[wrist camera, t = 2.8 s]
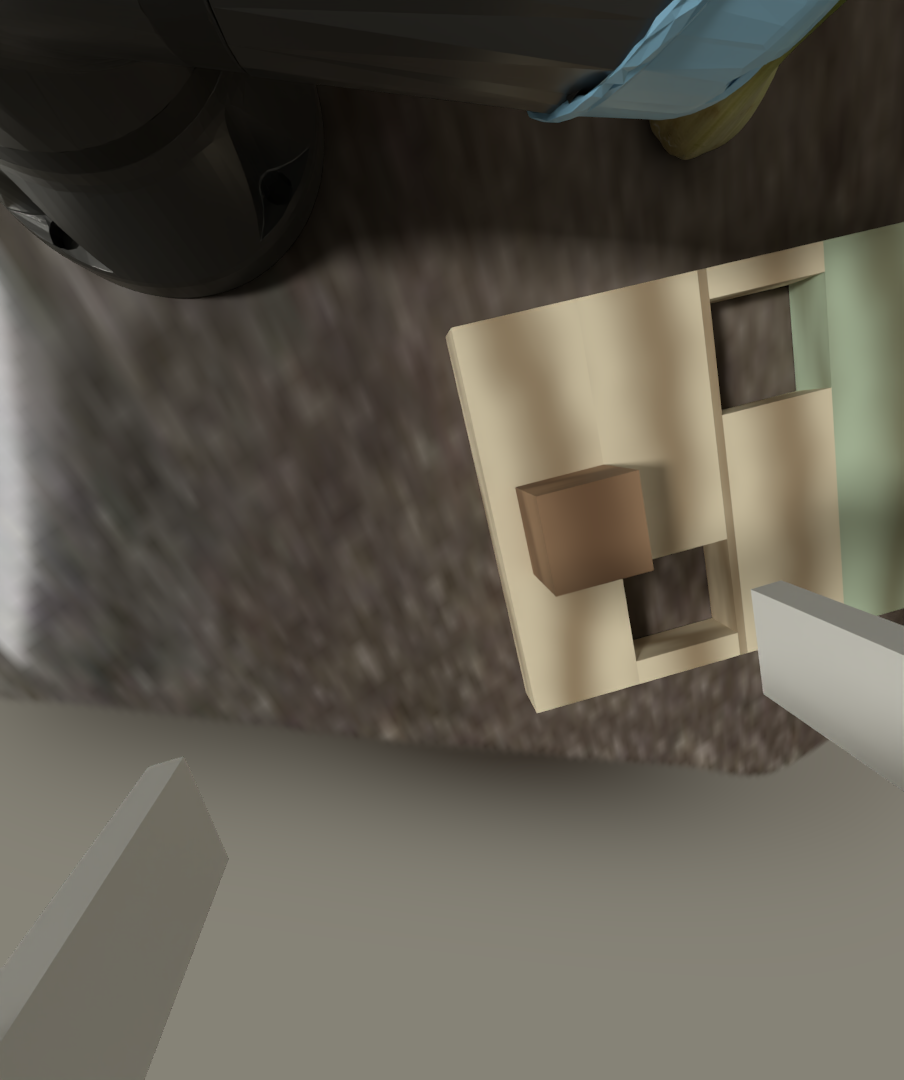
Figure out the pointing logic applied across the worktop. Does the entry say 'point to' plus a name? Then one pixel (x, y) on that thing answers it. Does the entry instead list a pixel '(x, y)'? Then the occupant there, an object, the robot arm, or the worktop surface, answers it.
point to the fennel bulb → (720, 113)
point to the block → (586, 528)
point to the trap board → (697, 451)
